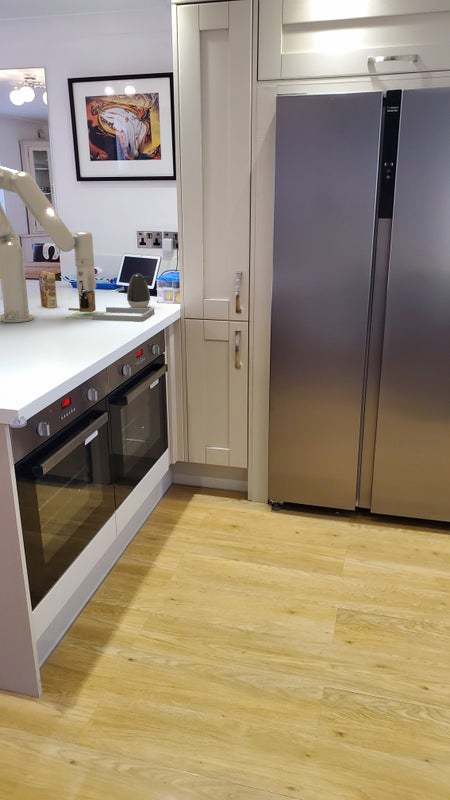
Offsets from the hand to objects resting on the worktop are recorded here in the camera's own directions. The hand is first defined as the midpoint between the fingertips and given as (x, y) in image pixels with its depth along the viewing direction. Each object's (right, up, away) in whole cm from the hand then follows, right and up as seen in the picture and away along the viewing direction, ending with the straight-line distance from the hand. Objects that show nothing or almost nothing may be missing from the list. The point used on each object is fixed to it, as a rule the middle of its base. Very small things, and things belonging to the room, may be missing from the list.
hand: (87, 306), depth 262 cm
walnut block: (-3, -2, +1) cm, 4 cm away
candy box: (-22, +3, +20) cm, 30 cm away
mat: (-1, -3, +1) cm, 4 cm away
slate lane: (+16, -4, -1) cm, 16 cm away
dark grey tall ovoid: (+19, +2, +17) cm, 26 cm away
